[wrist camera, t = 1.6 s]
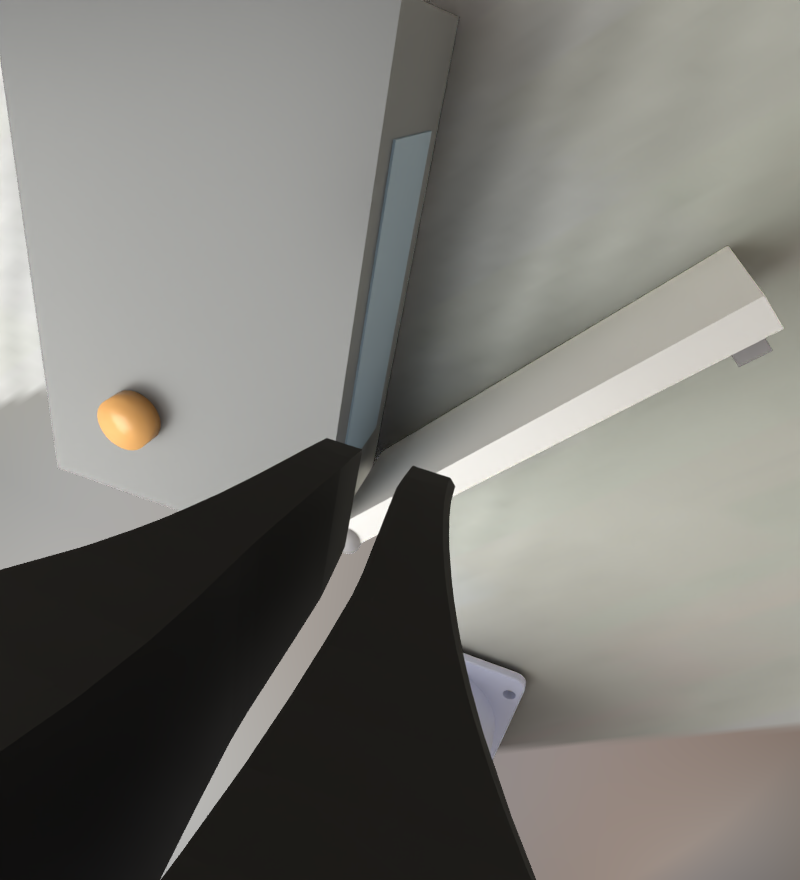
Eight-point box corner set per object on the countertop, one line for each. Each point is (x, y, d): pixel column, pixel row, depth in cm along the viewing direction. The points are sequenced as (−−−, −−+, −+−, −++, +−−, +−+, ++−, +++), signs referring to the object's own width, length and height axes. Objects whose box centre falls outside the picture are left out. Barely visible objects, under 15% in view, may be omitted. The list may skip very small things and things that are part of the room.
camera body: (373, 473, 23) (311, 574, 18) (153, 402, 24) (43, 477, 19) (480, -82, 14) (417, -162, 10) (133, -144, 16) (-70, -242, 11)
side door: (397, 486, 22) (353, 568, 19) (373, 456, 22) (323, 534, 18) (754, 290, 16) (798, 354, 12) (727, 245, 16) (764, 296, 12)
